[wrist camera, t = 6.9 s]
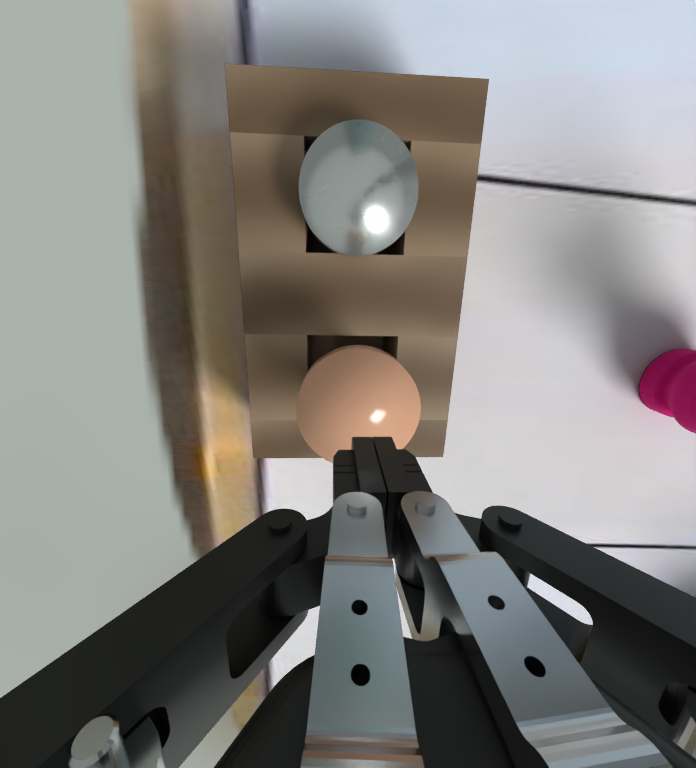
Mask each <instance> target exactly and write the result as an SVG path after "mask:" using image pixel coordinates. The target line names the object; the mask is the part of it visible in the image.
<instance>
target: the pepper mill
mask: <svg viewBox="0 0 696 768" xmlns="http://www.w3.org/2000/svg"><path fill="white" fill-rule="evenodd" d="M639 391H640V397H641V399H642V401H643V403H644V404H645V405H646V406H647V407H648V408H650V409H652V410H654V411H657V412H659V413H662V414H664V415H667V416H670V417H674V418H675V419H676V421H677V422H678V423H679V424H680V425H681V426H682V427H684V428H685V429H687V430H689V431H691V432H693V433H696V351H695V350H689V349H675V350H672V351H669V352H667V353H665V354H662V355H660V356H659V357H658V358H656V359H655V360H654V361H653V362H652V363H651V364H650V365H649V366H648V367H647V369H646V370H645V372H644V374H643V376H642V378H641V382H640V386H639Z"/></svg>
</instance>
